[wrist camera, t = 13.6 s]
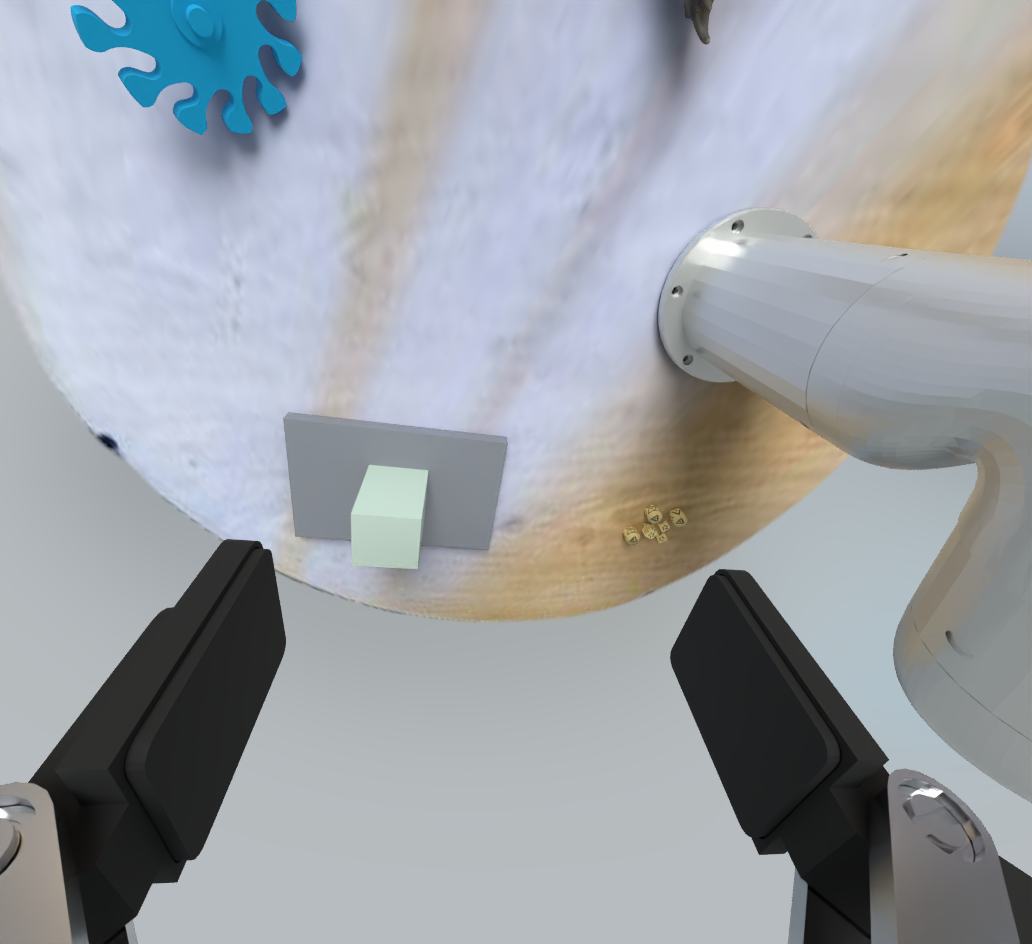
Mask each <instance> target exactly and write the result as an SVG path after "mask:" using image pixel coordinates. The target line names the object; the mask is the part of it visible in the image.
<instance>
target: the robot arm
mask: <svg viewBox="0 0 1032 944" xmlns="http://www.w3.org/2000/svg"><path fill="white" fill-rule="evenodd" d="M733 223H734V228H733V229H732V225H733ZM674 287H675V288H676V290H675V292H674V293H672V290H673V288H674ZM658 325H659V331H660V336H661V340H662V342H663V345H664V347H665V350H666V352H667V353H668V355H669V356H670V358H671V359H672V360H673V362H674V363H675V364H677V365H678V366H679V367H680V368H681V369H682V370H684V371H685V372H687V373H688V374H690V375H691V376H693V377H695V378H698V379H700V380H703V381H708V382H715V383H725V382H734V381H737V382H739V383H740V384H742V385H743V386H745V387H746V388H748V389H749V390H751V391H752V392H754V393H755V394H757V395H758V396H760V397H761V398H763V399H764V400H766V401H767V402H769V403H771V404H772V405H774V406H775V407H777V408H778V409H780V410H781V411H783V412H784V413H786V414H787V415H789V416H790V417H792V418H793V419H795V420H796V421H798V422H799V423H801V424H802V425H804V426H805V427H807V428H808V429H810V430H811V431H813V432H814V433H816V434H818V435H819V436H821V437H822V438H824V439H826V440H827V441H828V442H830V443H831V444H833V445H835V446H836V447H838V448H839V449H841V450H842V451H844V452H846V453H847V454H849V455H851V456H853V457H855V458H857V459H859V460H862V461H864V462H867V463H870V464H873V465H877V466H881V467H886V468H891V469H902V470H904V469H905V470H926V469H937V468H947V467H954V466H960V465H966V464H972V463H976V465H977V467H978V476H977V481H976V485H975V488H974V490H973V492H972V494H971V495H970V497H969V499H968V501H967V503H966V505H965V507H964V508H963V510H962V512H961V513H960V516H959V518H958V523H957V525H956V526H955V528H954V530H953V531H952V533H951V535H950V536H949V538H948V540H947V541H946V543H945V544H944V546H943V548H942V549H941V551H940V553H939V554H938V556H937V558H936V559H935V561H934V563H933V564H932V566H931V567H930V569H929V571H928V572H927V574H926V576H925V577H924V579H923V581H922V582H921V584H920V585H919V587H918V589H917V591H916V593H915V594H914V596H913V598H912V599H911V601H910V603H909V604H908V606H907V608H906V610H905V613H904V615H903V617H902V619H901V621H900V623H899V625H898V628H897V631H896V635H895V639H894V648H893V657H894V665H895V670H896V674H897V677H898V680H899V682H900V684H901V687H902V689H903V691H904V693H905V694H906V696H907V698H908V700H909V701H910V703H911V705H912V706H913V707H914V709H915V710H916V711H917V713H918V714H919V715H920V717H921V718H922V719H923V720H924V721H925V722H926V723H927V724H928V726H929V727H930V728H931V729H932V730H933V731H934V732H935V733H936V734H937V735H938V736H939V737H940V738H941V739H942V740H943V741H945V743H946V744H948V745H949V746H950V747H951V748H952V749H953V750H955V751H956V752H957V753H958V754H959V755H960V756H962V757H963V758H964V759H966V760H967V761H968V762H970V763H971V764H972V765H974V766H975V767H976V768H978V769H979V770H980V771H982V772H983V773H985V774H986V775H987V776H989V777H990V778H992V779H993V780H995V781H996V782H998V783H999V784H1001V785H1002V786H1004V787H1005V788H1007V789H1009V790H1010V791H1012V792H1014V793H1015V794H1017V795H1019V796H1021V797H1022V798H1024V799H1026V800H1027V801H1029V802H1031V803H1032V260H1023V259H1012V258H1001V257H991V256H981V255H971V254H960V253H947V252H937V251H928V250H918V249H909V248H899V247H889V246H880V245H870V244H861V243H851V242H841V241H832V240H822V239H819V238H818V235H817V234H816V232H815V231H814V230H813V229H812V227H811V226H810V225H809V224H808V223H807V222H806V221H805V220H803V219H802V218H800V217H799V216H798V215H796V214H794V213H791V212H788V211H786V210H783V209H774V208H750V209H746V210H742V211H738V212H734V213H732V214H730V215H728V216H726V217H723V218H721V219H719V220H717V221H716V222H714V223H713V224H711V225H710V226H709V227H707V228H706V229H704V230H703V231H702V232H701V233H700V234H698V235H697V236H696V237H695V238H694V239H693V240H692V241H691V242H690V243H689V244H688V245H687V247H686V248H685V249H684V251H683V252H682V253H681V254H680V256H679V257H678V258H677V260H676V262H675V263H674V265H673V267H672V269H671V271H670V273H669V274H668V276H667V279H666V282H665V285H664V287H663V290H662V293H661V299H660V304H659V316H658ZM685 356H686V357H685ZM684 357H685V359H683V358H684ZM285 646H286V636H285V631H284V624H283V618H282V613H281V606H280V600H279V595H278V588H277V582H276V576H275V570H274V564H273V558H272V553H271V551H270V550H269V549H263V547H262V544H261V543H260V542H259V541H248V540H232V539H227V540H224V541H223V542H222V543H221V544H220V545H219V547H218V548H217V550H216V551H215V552H214V554H213V555H212V557H211V558H210V559H209V561H208V562H207V563H206V564H205V566H204V567H203V569H202V570H201V571H200V573H199V574H198V575H197V577H196V578H195V579H194V581H193V582H192V583H191V585H190V586H189V588H188V589H187V590H186V592H185V593H184V594H183V596H182V597H181V598H180V600H179V601H178V602H177V604H176V605H175V607H173V608H166V609H165V610H163V611H161V612H160V613H159V614H158V615H157V616H156V617H155V618H154V619H153V620H152V622H151V623H150V624H149V625H148V627H147V628H146V629H145V631H144V632H143V633H142V635H141V636H140V637H139V639H138V640H137V641H136V643H135V644H134V645H133V646H132V648H131V649H130V650H129V652H128V653H127V654H126V655H125V657H124V658H123V660H122V661H121V662H120V663H119V665H118V666H117V667H116V669H115V670H114V671H113V673H112V674H111V675H110V676H109V678H108V679H107V680H106V682H105V683H104V684H103V685H102V687H101V688H100V690H99V691H98V692H97V693H96V695H95V696H94V697H93V699H92V700H91V701H90V702H89V704H88V705H87V706H86V708H85V709H84V710H83V712H82V713H81V714H80V716H79V717H78V718H77V720H76V721H75V722H74V723H73V725H72V726H71V727H70V729H69V730H68V731H67V733H66V734H65V735H64V737H63V738H62V739H61V740H60V742H59V743H58V744H57V746H56V747H55V748H54V749H53V751H52V752H51V753H50V755H49V756H48V758H47V759H46V760H45V761H44V763H43V764H42V765H41V766H40V768H39V769H38V770H37V772H36V773H35V774H34V776H33V777H32V778H31V780H30V781H29V782H28V783H18V782H14V783H10V784H5V785H0V944H138V942H137V937H136V933H135V928H134V923H133V919H134V918H135V917H136V916H137V915H138V912H139V910H140V908H141V906H142V904H143V902H144V900H145V898H146V895H147V893H148V891H149V889H150V887H151V885H152V883H174V882H178V879H179V877H180V875H181V872H182V870H183V868H184V865H185V863H186V861H187V860H194V859H196V857H197V856H198V855H199V854H200V852H201V850H202V849H203V847H204V844H205V842H206V840H207V838H208V835H209V833H210V830H211V828H212V826H213V823H214V821H215V818H216V816H217V813H218V811H219V809H220V806H221V804H222V802H223V799H224V797H225V794H226V792H227V790H228V787H229V785H230V782H231V780H232V778H233V775H234V773H235V770H236V768H237V766H238V763H239V761H240V758H241V756H242V753H243V751H244V749H245V746H246V744H247V742H248V739H249V737H250V734H251V732H252V730H253V727H254V725H255V722H256V720H257V718H258V715H259V713H260V710H261V708H262V706H263V703H264V701H265V698H266V696H267V694H268V691H269V689H270V687H271V684H272V681H273V679H274V677H275V675H276V672H277V669H278V667H279V665H280V663H281V660H282V658H283V655H284V651H285ZM670 660H671V664H672V668H673V670H674V672H675V675H676V677H677V679H678V682H679V684H680V686H681V689H682V691H683V693H684V696H685V698H686V700H687V702H688V705H689V707H690V710H691V712H692V714H693V716H694V719H695V721H696V724H697V726H698V728H699V730H700V733H701V735H702V738H703V740H704V742H705V744H706V747H707V749H708V752H709V754H710V756H711V758H712V761H713V763H714V765H715V768H716V770H717V773H718V775H719V777H720V780H721V782H722V784H723V786H724V789H725V791H726V793H727V796H728V798H729V800H730V803H731V805H732V807H733V810H734V812H735V814H736V817H737V819H738V821H739V823H740V825H741V828H742V829H743V831H744V832H745V833H746V834H747V835H748V836H749V837H752V840H753V842H754V844H755V846H756V849H757V851H758V853H759V855H767V854H784V853H786V852H787V851H788V853H789V855H790V857H791V859H792V861H793V863H794V865H795V877H794V887H793V897H792V907H791V918H790V928H789V939H788V944H1032V877H1030V876H1029V875H1027V874H1026V873H1024V872H1023V871H1021V870H1020V869H1018V868H1017V867H1015V866H1013V865H1012V864H1011V863H1009V862H1008V861H1006V860H1005V859H1003V858H1002V857H1000V856H999V855H998V853H997V850H996V847H995V845H994V842H993V840H992V838H991V836H990V834H989V833H988V831H987V830H986V828H985V827H984V825H983V824H982V822H981V821H980V819H979V818H978V817H977V816H976V815H975V814H974V813H973V811H972V810H971V809H970V808H969V807H968V806H967V805H966V804H965V803H964V802H963V801H962V800H961V799H960V798H959V797H957V796H956V795H955V794H954V793H953V792H952V791H951V790H949V789H948V788H947V787H945V786H944V785H942V784H940V783H939V782H938V781H936V780H935V779H933V778H931V777H929V776H927V775H924V774H922V773H920V772H917V771H913V770H909V769H899V770H895V771H894V772H892V773H891V774H890V775H889V774H888V772H887V771H886V769H885V768H884V767H883V765H884V764H885V763H886V762H887V761H888V760H889V759H888V758H887V756H886V755H885V754H884V752H883V751H882V750H881V748H880V747H879V746H878V744H877V743H876V742H875V740H874V739H873V738H872V736H871V735H870V734H869V732H868V731H867V730H866V728H865V727H864V725H863V724H862V723H861V721H860V720H859V719H858V718H857V716H856V715H855V713H854V712H853V711H852V710H851V708H850V707H849V705H848V704H847V703H846V701H845V700H844V699H843V697H842V696H841V695H840V693H839V692H838V691H837V689H836V688H835V687H834V686H833V684H832V683H831V681H830V680H829V679H828V677H827V676H826V675H825V673H824V672H823V671H822V669H821V668H820V667H819V665H818V664H817V663H816V661H815V660H814V659H813V658H812V656H811V655H810V653H809V652H808V651H807V649H806V648H805V647H804V645H803V644H802V643H801V642H800V640H799V639H798V637H797V636H796V634H795V633H794V632H793V631H792V629H791V628H790V626H789V625H788V624H787V622H786V621H785V620H784V618H783V617H782V616H781V614H780V613H779V612H778V611H777V609H776V608H775V606H774V605H773V604H772V602H771V601H770V600H769V598H768V597H767V596H766V594H765V593H764V592H763V590H762V589H761V588H760V586H759V585H758V584H757V582H756V581H755V580H754V578H753V577H752V576H751V575H750V574H749V573H748V572H746V571H743V570H725V569H719V570H718V571H716V573H715V574H714V575H712V576H710V577H709V578H708V580H707V582H706V584H705V586H704V587H703V590H702V592H701V593H700V595H699V597H698V599H697V601H696V603H695V605H694V607H693V609H692V611H691V613H690V615H689V617H688V619H687V621H686V622H685V625H684V626H683V628H682V630H681V632H680V634H679V636H678V638H677V640H676V642H675V644H674V646H673V648H672V650H671V656H670Z"/></svg>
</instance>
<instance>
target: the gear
mask: <svg viewBox="0 0 1032 944" xmlns="http://www.w3.org/2000/svg"><path fill="white" fill-rule="evenodd" d="M112 1H113V2H114V3H116V4H117V5H118V6H119V7H120V8H121V9H122V10H123V11H124V13H125V17H126V23H125V25H124V26H123V27H122V28H113V27H111V26H109V25H107V24H106V23H105V22H104V21H103V20H101V19H100V18H99V17H98V16H97V15H96V14H95V13H94V12H92V11H91V10H90V9H88V8H86V7H83V6H80V5H74V6H71V15H72V19H73V22H74V25H75V28H76V30H77V32H78V34H79V37H80V39H81V40H82V42H83V43H84V45H85V46H86V47H87V48H88V49H90V50H92V51H95V52H105V51H107V50H109V49H111V48H115V47H128V48H133V49H136V50H139V51H142V52H144V53H147V54H149V55H151V56H153V57H154V58H155V61H156V68H155V69H154V71H152V72H143V71H140V70H138V69H135V68H131V67H125V68H122V69H121V70H120V71H119V73H118V76H119V77H120V79H121V81H122V82H123V84H124V85H125V87H126V88H127V90H128V91H129V93H130V94H131V95H132V96H133V97H134V99H135V100H136V101H137V102H138V103H139V104H140V105H141V106H142V107H150V106H152V105H153V104H154V103H155V101H156V98H157V96H158V95H159V93H160V92H161V91H162V90H163V89H164V88H165V87H167V86H169V85H172V84H176V83H181V82H187V83H190V84H191V85H193V88H194V93H193V95H192V97H190V98H188V99H184V100H180V101H177V102H176V103H175V104H174V107H173V113H174V115H175V116H176V118H177V119H178V120H179V122H180V123H182V124H183V125H184V126H185V127H187V128H188V129H190V130H192V131H194V132H196V133H198V134H201V135H202V134H203V133H205V131H206V129H207V121H206V109H207V105H208V102H209V101H210V99H211V97H212V96H213V95H214V94H215V92H216V91H217V90H219V89H225V90H227V91H229V95H230V98H229V101H228V103H227V104H226V105H225V106H224V108H223V109H222V119H223V122H224V123H225V125H226V126H227V127H228V129H229V130H230V131H232V132H235V133H242V134H246V133H251V132H252V128H253V127H252V122H251V120H250V118H249V117H248V115H247V113H246V111H245V108H244V104H243V98H242V90H243V81H244V79H245V78H246V77H247V76H255V77H256V79H257V92H256V95H257V99H258V101H259V103H260V104H261V106H262V107H263V108H264V109H265V110H266V112H267V113H268V114H270V115H272V114H275V113H278V112H279V111H281V110H282V109H283V108H285V107H286V101H285V98H284V97H283V95H282V94H281V93H280V92H279V91H278V90H277V88H276V87H275V86H273V85H272V84H271V83H270V82H269V81H268V79H267V77H266V76H265V74H264V71H263V69H262V66H261V63H260V60H259V57H258V51H259V48H260V47H261V46H262V45H270V46H271V49H272V52H273V55H274V58H275V60H276V62H277V64H278V65H279V66H280V67H281V68H282V69H283V70H284V71H285V72H286V73H287V74H288V75H290V76H294V75H295V74H296V73H297V71H298V69H299V67H300V64H301V61H302V55H301V53H300V52H299V51H298V50H297V49H296V48H295V47H294V46H293V45H292V44H291V43H290V42H289V41H287V40H283V39H280V38H277V37H275V36H273V35H272V34H270V33H269V32H268V31H267V30H266V29H265V28H264V27H263V25H262V24H261V23H260V21H259V20H258V18H257V15H256V6H257V4H258V3H259V2H260V1H262V0H112ZM265 1H268V2H269V3H270V5H271V6H272V7H273V9H274V10H275V11H276V12H277V13H278V14H279V15H280V16H281V17H282V18H284V19H285V20H287V21H294V20H295V19H296V0H265Z"/></svg>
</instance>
